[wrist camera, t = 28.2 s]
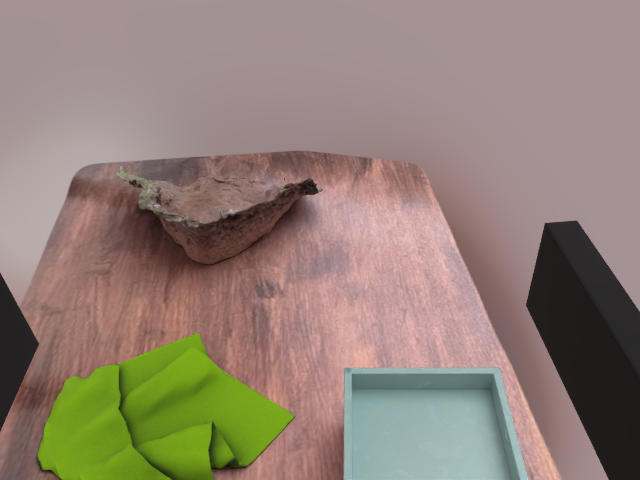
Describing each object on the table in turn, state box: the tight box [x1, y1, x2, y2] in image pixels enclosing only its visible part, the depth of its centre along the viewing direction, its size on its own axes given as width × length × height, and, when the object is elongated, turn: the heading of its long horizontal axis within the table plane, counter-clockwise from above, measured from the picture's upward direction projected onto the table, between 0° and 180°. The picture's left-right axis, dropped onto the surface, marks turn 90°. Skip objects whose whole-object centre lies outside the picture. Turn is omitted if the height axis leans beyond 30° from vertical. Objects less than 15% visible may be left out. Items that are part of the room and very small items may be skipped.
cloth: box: [37, 333, 295, 480], centre depth 50 cm, size 20×22×2 cm
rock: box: [116, 166, 322, 264], centre depth 72 cm, size 26×22×10 cm
